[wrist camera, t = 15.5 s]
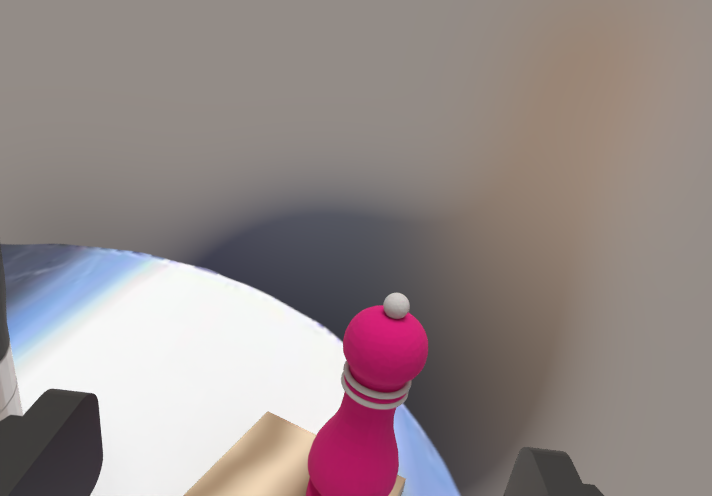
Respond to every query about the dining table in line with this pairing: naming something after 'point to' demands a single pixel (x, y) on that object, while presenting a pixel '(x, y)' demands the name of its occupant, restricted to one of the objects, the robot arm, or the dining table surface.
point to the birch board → (266, 463)
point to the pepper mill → (369, 403)
